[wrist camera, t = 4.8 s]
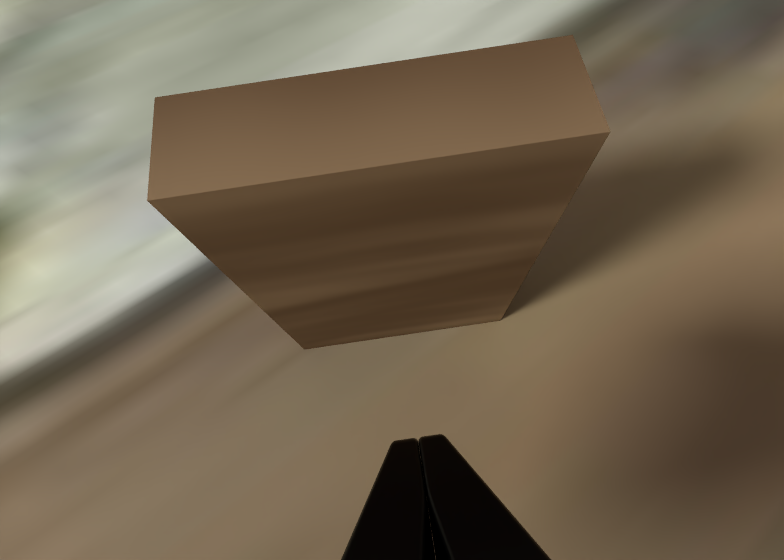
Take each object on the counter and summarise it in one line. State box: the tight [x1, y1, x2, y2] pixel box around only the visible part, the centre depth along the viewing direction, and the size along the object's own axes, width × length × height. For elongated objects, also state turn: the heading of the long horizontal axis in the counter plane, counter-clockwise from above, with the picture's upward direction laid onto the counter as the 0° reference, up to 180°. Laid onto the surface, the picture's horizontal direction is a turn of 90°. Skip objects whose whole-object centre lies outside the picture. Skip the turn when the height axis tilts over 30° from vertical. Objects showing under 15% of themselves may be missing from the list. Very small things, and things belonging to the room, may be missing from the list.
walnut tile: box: [147, 35, 610, 349], centre depth 12 cm, size 2×7×10 cm, turn 99°
